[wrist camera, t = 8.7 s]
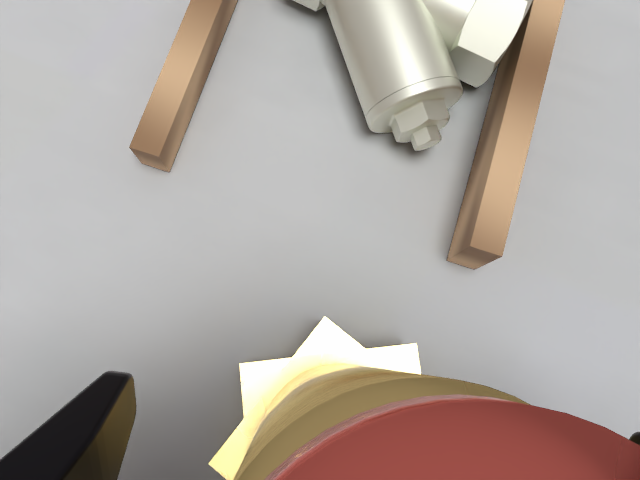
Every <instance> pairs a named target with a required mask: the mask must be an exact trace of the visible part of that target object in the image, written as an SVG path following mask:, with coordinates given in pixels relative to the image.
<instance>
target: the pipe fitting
mask: <svg viewBox="0 0 640 480" xmlns="http://www.w3.org/2000/svg"><path fill="white" fill-rule="evenodd" d="M293 1H295V2H297V3H299V4H301V5H304V6H306V7H308V8H310V9H312V10H314V11H318V10H320V9H321V8H323V7H324V6H326V9H327V12H328V14H329V17H330V20H331V23H332V26H333V28H334V31H335V34H336V37H337V40H338V42H339V45H340V48H341V51H342V54H343V57H344V59H345V62H346V65H347V68H348V71H349V73H350V76H351V79H352V82H353V85H354V88H355V90H356V93H357V96H358V99H359V102H360V104H361V107H362V110H363V113H364V116H365V119H366V121H367V124H368V127H369V129H370V130H371V131H373V132H376V133H389V132H393V134H394V137H395V139H396V142H403V143H405V142H412V145H413V147H414V150H416V151H420V150H424V149H428V148H430V147H432V146H434V145H436V144H438V143H439V142H440V141H441V135H440V133H439V130H440V129H442V128H443V127H445V126H446V125H447V123H448V121H449V118H450V116H449V113H448V110H447V109H449V108H450V107H452V106H453V105H454V104H455V103H456V102H457V101H458V100H459V99H460V98H461V96H462V94H463V88H462V85H461V83H460V80H461V81H463V82H465V83H467V84H470V85H472V86H474V87H476V88H477V87H479V86H481V85H482V84H484V83H485V82H486V81H487V80H488V79H489V78H490V76H491V75H492V73H493V72H494V70H495V69H496V67H497V66H498V64H499V62H500V61H501V59H502V57H503V56H504V54H505V52H506V50H507V49H508V47H509V45H510V43H511V42H512V40H513V38H514V36H515V34H516V33H517V31H518V29H519V27H520V25H521V23H522V21H523V19H524V17H525V15H526V13H527V11H528V9H529V7H530V5H531V3H532V1H533V0H293Z"/></svg>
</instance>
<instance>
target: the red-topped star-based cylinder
mask: <svg viewBox="0 0 640 480" xmlns="http://www.w3.org/2000/svg"><path fill="white" fill-rule="evenodd" d="M240 376H241V389H242V401H243V413H244V419H243V420H242V422H241V423H240V424H239V425H238V427H237V428H236V429H235V430H234V432H233V433H232V434H231V435H230V437H229V438H228V439H227V440H226V442H225V443H224V444H223V446H222V447H221V448H220V449H219V451H218V452H217V453H216V454H215V456H214V457H213V458H212V460H211V461H210V462H209V463H208V464H209V465H210V466H211V467H212V468H214V469H215V470H216V471H217V472H218V473H219V474H221V475H222V476H223V477H224V478H225V479H226V480H640V445H638V444H636V443H634V442H632V441H630V440H628V439H626V438H625V437H623V436H621V435H619V434H617V433H615V432H613V431H611V430H609V429H607V428H605V427H603V426H600V425H597V424H595V423H592V422H589V421H586V420H584V419H581V418H578V417H575V416H573V415H570V414H567V413H563V412H559V411H554V410H550V409H545V408H541V407H536V406H532V405H530V404H528V403H526V402H524V401H522V400H520V399H519V398H517V397H515V396H512V395H509V394H507V393H504V392H501V391H498V390H496V389H493V388H490V387H487V386H484V385H479V384H475V383H470V382H466V381H461V380H456V379H449V378H442V377H436V376H429V375H422V374H421V370H420V363H419V356H418V349H417V343H412V344H402V345H394V346H385V347H377V348H368V349H365V348H364V347H362V346H361V345H360V344H359V343H358V342H356V341H355V340H354V339H353V338H351V337H350V336H349V335H348V334H346V333H345V332H344V331H343V330H341V329H340V328H339V327H338V326H336V325H335V324H334V323H333V322H331V321H330V320H329V319H328V318H326V317H324V318H323V319H322V320H321V322H320V323H319V324H318V325H317V327H316V328H315V329H314V330H313V332H312V333H311V334H310V335H309V337H308V338H307V339H306V340H305V342H304V343H303V344H302V346H301V347H300V348H299V349H298V351H297V352H296V353H295V354H294V356H293V357H290V358H281V359H273V360H264V361H256V362H247V363H240Z"/></svg>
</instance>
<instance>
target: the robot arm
mask: <svg viewBox="0 0 640 480" xmlns="http://www.w3.org/2000/svg"><path fill="white" fill-rule="evenodd" d="M135 415H136V398H135V388H134V379H133V376H132V375H131V374H130V373H125V372H116V371H108V372H105V373H104V374H102V375H101V376H100V377H99V378H97V379H96V380H95V381H94V382H93V383H91V384H90V385H89V386H88V387H87V388H85V389H84V390H83V391H82V392H81V393H79V394H78V395H77V396H76V397H75V398H73V399H72V400H71V401H70V402H69V403H67V404H66V405H65V406H64V407H63V408H62V409H60V410H59V411H58V412H57V413H56V414H54V415H53V416H52V417H51V418H50V419H48V420H47V421H46V422H45V423H44V424H42V425H41V426H40V427H39V428H38V429H36V430H35V431H34V432H33V433H32V434H30V435H29V436H28V437H27V438H26V439H24V440H23V441H22V442H21V443H20V444H18V445H17V446H16V447H15V448H14V449H12V450H11V451H10V452H9V453H8V454H6V455H5V456H4V457H3V458H2V459H0V480H117V478H118V475H119V471H120V468H121V464H122V461H123V458H124V454H125V451H126V447H127V444H128V440H129V437H130V434H131V430H132V427H133V423H134V420H135ZM629 440H630V441H632V442H634V443H636V444H638V445H640V432H636V433H634V434H633V435H632V436H631V437H630V439H629Z"/></svg>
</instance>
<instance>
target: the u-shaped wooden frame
mask: <svg viewBox="0 0 640 480" xmlns="http://www.w3.org/2000/svg"><path fill="white" fill-rule="evenodd" d="M237 1H238V0H191V1H190V4H189V6H188V8H187V11H186V13H185V16H184V18H183V20H182V23H181V25H180V27H179V30H178V32H177V35H176V37H175V39H174V42H173V44H172V47H171V49H170V51H169V54H168V56H167V58H166V61H165V63H164V66H163V68H162V70H161V73H160V75H159V78H158V80H157V82H156V85H155V87H154V89H153V92H152V94H151V97H150V99H149V101H148V104H147V106H146V109H145V111H144V113H143V116H142V118H141V120H140V123H139V125H138V128H137V130H136V132H135V135H134V137H133V140H132V142H131V144H130V147H129V148H130V149H131V150H132V151H133V153H134V154H135V155H136V157H137V158H138V159H139V160H140V162H141V163H142V164H145V165H148V166H151V167H154V168H158V169H161V170H164V171H167V172H170V170H171V167H172V165H173V162H174V160H175V157H176V155H177V152H178V149H179V147H180V144H181V142H182V139H183V137H184V134H185V132H186V129H187V127H188V124H189V122H190V119H191V117H192V114H193V112H194V109H195V107H196V104H197V102H198V99H199V97H200V94H201V92H202V89H203V87H204V84H205V82H206V79H207V77H208V74H209V72H210V69H211V66H212V64H213V61H214V59H215V56H216V54H217V51H218V49H219V46H220V44H221V41H222V39H223V36H224V34H225V31H226V29H227V26H228V24H229V21H230V19H231V16H232V14H233V11H234V9H235V6H236V4H237ZM564 2H565V0H533V1H532V3H531V5H530V7H529V9H528V11H527V13H526V15H525V17H524V19H523V21H522V23H521V25H520V27H519V29H518V31H517V33H516V34H515V36H514V38H513V40H512V42H511V43H510V45H509V47H508V49H507V50H506V52H505V54H504V56H503V57H502V59H501V61H500V63H499V67H498V71H497V75H496V78H495V82H494V86H493V90H492V93H491V97H490V101H489V105H488V108H487V112H486V116H485V119H484V123H483V127H482V131H481V134H480V138H479V142H478V146H477V149H476V153H475V157H474V160H473V164H472V168H471V172H470V175H469V179H468V183H467V187H466V190H465V194H464V198H463V202H462V205H461V209H460V213H459V216H458V220H457V224H456V228H455V231H454V235H453V239H452V243H451V246H450V250H449V254H448V258H447V261H450V262H453V263H456V264H459V265H462V266H465V267H469V268H472V269H477V268H479V267H481V266H483V265H485V264H487V263H489V262H491V261H494V260H496V259H498V258H500V257H502V255H503V251H504V247H505V243H506V239H507V235H508V231H509V226H510V222H511V218H512V214H513V210H514V206H515V202H516V198H517V194H518V190H519V186H520V182H521V178H522V173H523V169H524V165H525V161H526V157H527V153H528V149H529V145H530V141H531V137H532V133H533V129H534V125H535V121H536V116H537V112H538V108H539V104H540V100H541V96H542V92H543V88H544V84H545V80H546V76H547V72H548V68H549V63H550V59H551V55H552V51H553V47H554V43H555V39H556V35H557V31H558V27H559V23H560V19H561V15H562V10H563V6H564Z"/></svg>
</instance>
